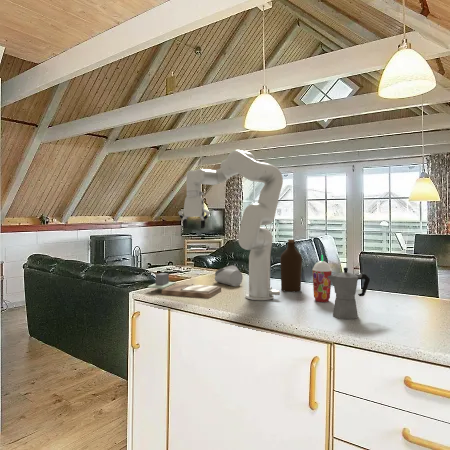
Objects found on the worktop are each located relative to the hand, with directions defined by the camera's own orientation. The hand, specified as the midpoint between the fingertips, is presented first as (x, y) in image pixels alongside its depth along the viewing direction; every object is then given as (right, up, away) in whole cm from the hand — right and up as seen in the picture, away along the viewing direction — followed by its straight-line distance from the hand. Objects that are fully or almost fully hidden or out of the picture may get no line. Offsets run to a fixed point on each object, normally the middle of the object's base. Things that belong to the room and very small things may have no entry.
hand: (194, 228), depth 192 cm
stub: (-15, -28, -9) cm, 33 cm away
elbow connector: (+19, -30, +12) cm, 38 cm away
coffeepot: (+61, -32, -55) cm, 88 cm away
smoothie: (+58, -32, -30) cm, 73 cm away
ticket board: (0, -31, -14) cm, 34 cm away
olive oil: (+49, -31, -8) cm, 58 cm away
